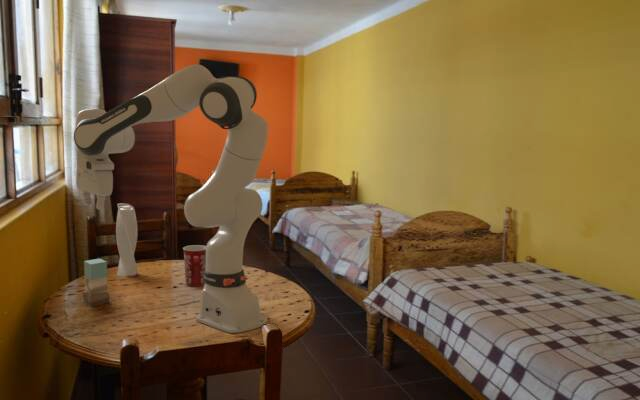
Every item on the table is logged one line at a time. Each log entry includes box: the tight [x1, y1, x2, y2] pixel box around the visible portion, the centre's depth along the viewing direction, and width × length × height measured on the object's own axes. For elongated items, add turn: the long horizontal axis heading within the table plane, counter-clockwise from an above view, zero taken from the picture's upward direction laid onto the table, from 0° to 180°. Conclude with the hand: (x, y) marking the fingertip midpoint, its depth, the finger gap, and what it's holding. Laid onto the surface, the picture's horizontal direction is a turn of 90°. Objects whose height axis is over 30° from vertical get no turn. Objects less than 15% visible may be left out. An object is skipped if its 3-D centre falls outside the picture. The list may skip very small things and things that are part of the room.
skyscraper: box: [115, 202, 139, 278], centre depth 188 cm, size 8×8×28 cm
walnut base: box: [82, 290, 110, 306], centre depth 160 cm, size 6×6×3 cm
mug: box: [182, 244, 206, 287], centre depth 180 cm, size 13×9×14 cm
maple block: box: [84, 276, 108, 295], centre depth 159 cm, size 5×5×5 cm
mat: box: [80, 299, 112, 307], centre depth 160 cm, size 12×10×1 cm
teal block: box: [83, 258, 108, 280], centre depth 158 cm, size 5×5×5 cm
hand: (93, 206), depth 155 cm, fingers open, 8 cm apart
